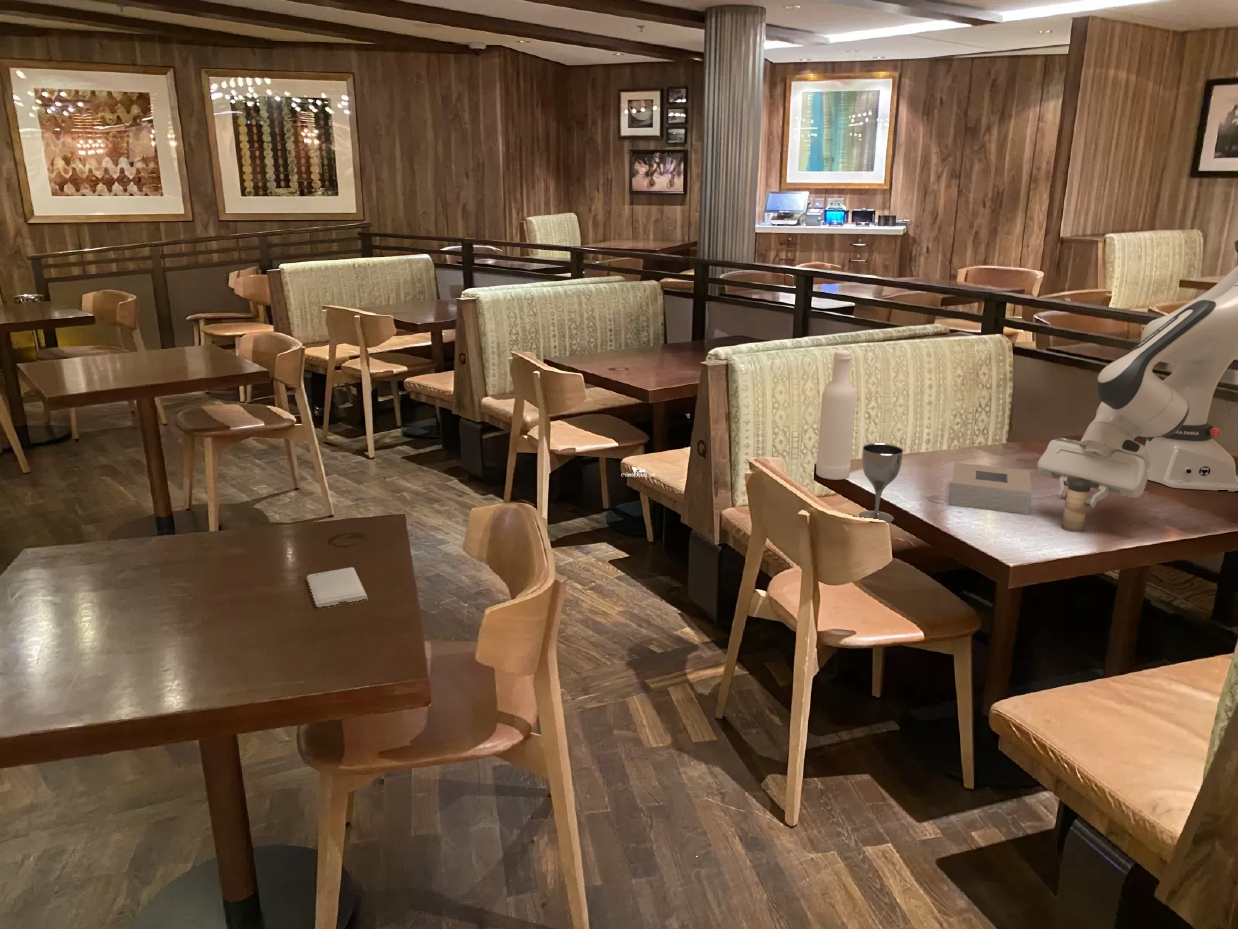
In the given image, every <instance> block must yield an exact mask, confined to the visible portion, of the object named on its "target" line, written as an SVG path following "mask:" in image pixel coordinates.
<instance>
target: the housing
mask: <svg viewBox="0 0 1238 929" xmlns="http://www.w3.org/2000/svg"><path fill="white" fill-rule="evenodd" d="M953 464H954V466H953V473H952V478H951V479H952V480H951V487H950V488H951V490H950V494H949V495H950V496H949V503H948V504H951V505H950V506H957V505H958V506H960V507H965V508H973V507H975V509H982V510H990V511H998V512H999V511H1000V512H1006V513H1015V514H1019V515H1020V514H1021V515H1029V514H1030V509H1031V504H1032V503H1031V501H1032V497H1033V496H1032V495H1033V489H1032V480H1031V473H1030V472H1031V471H1030V470H1027V469H1019V468H1016V469H1015V468H1010V467H1000V466H999V467H998V466H991V465H982V464H971V463H962V462H954V463H953Z"/></svg>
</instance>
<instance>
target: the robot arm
mask: <svg viewBox="0 0 1238 929" xmlns="http://www.w3.org/2000/svg"><path fill="white" fill-rule="evenodd" d="M1234 249H1235V251H1236V253H1237V254H1238V235H1237V237H1236V240H1234ZM1237 358H1238V265H1237V266H1235V267H1234V268H1233V269H1232V270H1231V271H1229V272H1228V273H1227V275H1226V276H1224V277H1223V278H1222V279H1221V280H1220V281H1218V283H1216V284H1215V285H1214V286H1212V287H1211V288H1210V289H1208V290H1207V291H1206V292H1204V293H1202V294H1201V295H1199V296H1197V297H1196V298H1194V299H1192V300H1191V301H1189V302H1187V303H1186V304H1185V305H1182V306H1180V307H1179V308H1177V309H1176V310H1174V311H1172V312H1170V313H1168V314H1166V315H1163V316H1161V317H1158V318H1156V319H1153V320H1151V321H1150V322H1148V323H1147V324H1146V325H1145V327H1144V328H1143V330H1142V333H1141V337H1140V342H1139V343H1137V345H1135V346H1134V347H1132V348H1131V349H1130V350H1129V351H1127V352H1126V353H1124V354H1123V355H1121V356H1119V357H1118V358H1115V359H1114V360H1112V361H1111V362H1110V363H1108V364H1107V365H1105V366H1104V367H1103V368H1102V369H1101V370H1100V371H1099V373H1098V374H1097V376H1096V379H1095V394H1096V398H1097V399H1098V401H1100V404H1099V406H1098V407H1097V409H1096V414H1095V417H1094V419H1093V420H1092V422H1090V423H1089V425H1088V426H1087V428H1086V430H1085V432H1084V433H1083V436H1082V438H1081V440H1077V439H1069V438H1066V437H1059V438H1055V439H1052V440H1050V441H1049V443H1048V444H1047V447H1046V449H1045V450H1044V452H1043V453H1042V455H1041V456H1040V458H1039V460H1038V461H1037V464H1036V465H1037V466H1036V467H1037V470H1038V471H1039V474H1040V475H1041V476H1042V477H1046V478H1049V479H1054V480H1058V481H1059V485H1060V489H1059V491H1058V495H1057V497H1058V499H1059V500H1064V501H1066V496H1067V490H1068V488H1067V487H1068V484H1069V480H1070V479H1082V480H1086V481H1089V482H1091V487H1090V489H1094V490H1098V491H1097V492H1096V493H1094V494H1093V495H1091V494H1089V495H1088V497H1087V499H1086V500H1085V504H1086V506H1087V507H1088V508H1089V507H1090V508H1092V509H1093V508H1095V506H1096V505H1097V503H1098V502H1100V501H1101V500H1103V499H1104V498H1106V497H1107V496H1108V494H1109V493H1111V494H1114V495H1119V496H1123V497H1126V498H1130V499H1137V498H1139V497H1141V496H1142V495H1143V493H1144V490H1145V489H1146V485H1147V483H1148V480H1149V481H1152V482H1156V483H1159V484H1162V485H1165V486H1167V487H1170V488H1173V489H1187V490H1188V489H1189V490H1190V489H1191V490H1205V491H1206V490H1207V491H1218V490H1228V491H1227V492H1235V491H1238V475H1237V474H1236V469H1237V468H1236V462H1235V458H1234V457H1233V456H1232V455H1231V454H1230V453H1229V452H1228V451H1227V450H1226V449H1225V448H1224V447H1222V445H1220V444H1219V443H1218V442H1217V441H1216V440H1215V439H1213V438H1219V436H1221V435H1222V431H1221V430H1220V429H1219V428H1218V427H1216V426H1214V425H1213V424H1211V423H1209V422H1208V416H1209V414H1210V409H1211V405H1212V401H1213V397H1214V394H1215V390H1216V388H1217V386H1218V383H1219V382H1220V380H1221V378H1222V377H1223V375H1224V374H1225V373H1226V371H1227V369H1228V368H1229V366H1230V365H1231V364H1232V363H1233V361H1234V360H1235V359H1237ZM1159 362H1162V363H1167V364H1177V365H1176V367H1175V368H1174V370H1173V371H1172V372H1171V374H1169V375H1168V376H1167V377H1166V378H1164V379H1163V380H1162V379H1161V378H1160V377H1159V376H1158V375H1156V374H1155V373H1154V372H1153V368H1154V366H1156V364H1158V363H1159ZM1137 437H1141V438H1145V439H1146V441H1145V444H1144V445H1143V444H1141V443H1140V442H1138V441H1135V438H1137ZM1066 488H1067V489H1066Z"/></svg>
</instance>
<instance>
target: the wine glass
mask: <svg viewBox="0 0 1238 929" xmlns="http://www.w3.org/2000/svg"><path fill="white" fill-rule="evenodd" d="M903 454H904V450H903V448H902V447H900V446H897V445H894V444H889V443H877V442H876V443H868V444H865V445H863V447H862V454H861V455H862V458H861V459H862V461H861V462H862V469H863V470H862V471H863V473H864V475H865V477H866V478H867V480H868V482H870V484H871V485H872V487H873V489H874V492H875V493H874V494H875V503H874V504H875V505H874V510H865V511H862V512H860V513H859V514H858V517H859V518H860V517H864V518H873V519H879V520H884V521H886V522H888V523H891V522H893V521H894V520H895V518H894V516H893V515H892V514H889V513H887V512H884V511H880V502H881V497H882V493H883V491H884V489H886V487H887V486H888V485H890V483H892V482H893V481H894V480H895V479H896V478H897V476H898V474H899V472H900V469H901V466H902V461H903Z"/></svg>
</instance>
